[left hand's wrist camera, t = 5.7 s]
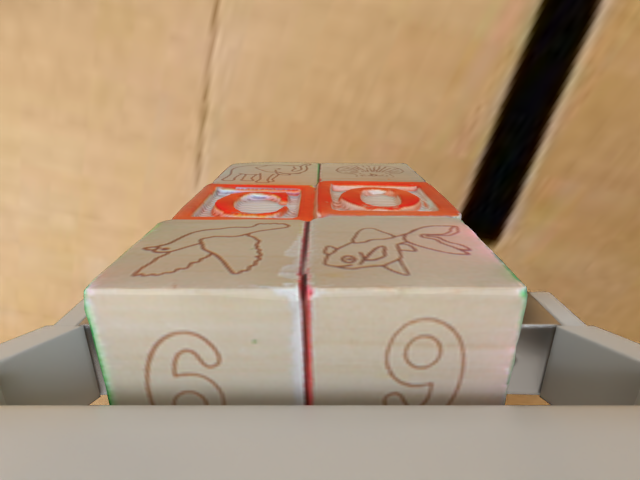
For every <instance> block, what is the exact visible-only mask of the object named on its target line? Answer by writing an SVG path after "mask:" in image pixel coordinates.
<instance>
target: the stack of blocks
mask: <svg viewBox="0 0 640 480" xmlns="http://www.w3.org/2000/svg"><path fill="white" fill-rule="evenodd" d="M527 296H528V294H527V287H526V286H525V285H524V284H523V283H522V282H521V281H520V280H519V279H518V278H517V277H516V276H515V275H514V274H513V272H512V271H511V270H510V269H509V268H508V267H507V266H506V265H505V264H504V263H503V261H502V260H501V259H500V258H499V257H498V256H497V255H496V254H495V253H494V252H493V251H492V250H491V249H490V248H488V247H487V246H486V245H485V244H484V243H483V242H482V241H481V240H480V239H479V238H478V236H477V235H476V234H475V233H474V232H473V231H472V230H471V229H470V228H469V227H468V226H467V225H465V224H464V223H463V221H462V220H461V213H460V212H459V211H458V210H457V209H456V208H455V207H454V206H453V205H452V204H451V203H450V202H449V201H448V200H447V199H446V198H445V197H443V196H442V195H441V194H440V193H439V192H438V191H437V190H436V189H435V188H433V187H432V186H431V185H430V184H428V183H426V182H425V180H424V179H423V178H421V177H420V176H419V175H418V174H417V173H416V172H415V171H413V170H412V169H411V168H410V167H409V166H408V165H407V164H404V163H395V164H366V163H324V164H318V163H297V162H265V163H240V164H233V165H231V166H229V167H228V168H227V169H226V170H225V171H224V172H223V173H222V174H220V176H219V177H218V178H217V179H216V180H215V181H214V182H213V183H212V184H209V185H207V186H205V187H204V188H203V189H202V190H201V191H200V192H199V193H198V194H197V195H196V196H195V197H194V198H193V199H192V200H190V201H189V202H188V203H187V204H186V205H185V206H184V207H183V208H182V209H181V210H180V211H179V212H178V213H177V214H176V215H175V216H174V217H173V219H172V220H167V221H164V222H161V223H158V224H157V225H156V226H155V227H154V228H153V229H152V230H151V231H149V232H148V233H147V234H146V235H145V236H144V237H143V238H142V239H140V240H139V241H138V242H137V243H136V244H134V245H133V246H132V247H131V248H129V249H128V250H127V251H126V252H125V253H124V254H123V255H122V256H120V257H119V258H118V259H117V260H116V261H115V262H114V263H112V264H111V265H110V266H109V267H108V268H106V269H105V270H104V271H103V272H102V273H101V274H99V275H98V276H97V277H96V278H95V279H93V281H92V282H91V283H90V284H89V285H88V286H87V288H86V289H85V290H84V310H85V313H86V316H87V319H88V322H89V325H90V329H91V333H92V337H93V341H94V344H95V348H96V352H97V356H98V360H99V364H100V367H101V371H102V375H103V379H104V382H105V386H106V391H107V395H108V400H109V404H110V405H505V401H506V395H507V389H508V385H509V381H510V377H511V373H512V370H513V366H514V363H515V353H516V346H517V343H518V339H519V336H520V331H521V326H522V322H523V317H524V313H525V308H526V304H527Z"/></svg>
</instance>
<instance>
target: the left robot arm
mask: <svg viewBox="0 0 640 480" xmlns="http://www.w3.org/2000/svg"><path fill="white" fill-rule="evenodd" d="M527 294H528V296H527V304H526V308H525V313H524V317H523V322H522V326H521V331H520V336H519V339H518V343H517V346H516V353H515V363H514V366H513V370H512V373H511V377H510V381H509V385H508V389H507V394H529V395H540V397H541V398H542V399H544V400H545V401H546V402H548V403H549V404H551V405H90V404H91V403H92V402H94V401H95V400H96V399H98V398H99V397H100V395H107V391H106V386H105V382H104V379H103V375H102V371H101V367H100V364H99V360H98V356H97V352H96V348H95V344H94V341H93V337H92V333H91V329H90V325H89V322H88V319H87V316H86V313H85V310H84V299H83V300H82V301H80V302H79V303H78V304H77V305H76V306H75V307H74V308H73V309H71V310H70V311H69V312H68V313H67V314H66V315H65V316H64V317H62V318H61V319H60V320H59V321H58V322H57V323H56V324H55V325H53V326H44V327H42V328H39V329H37V330H34V331H32V332H29V333H27V334H24V335H22V336H19V337H16V338H14V339H11V340H9V341H6V342H4V343H1V344H0V480H640V344H639V343H636V342H634V341H631V340H629V339H626V338H623V337H621V336H618V335H616V334H613V333H611V332H608V331H606V330H603V329H601V328H598V327H596V326H587V325H585V324H584V323H583V322H582V321H581V320H580V319H579V318H578V317H577V316H575V315H574V314H573V313H572V312H571V311H570V310H569V309H568V308H566V307H565V306H564V305H563V304H562V303H561V302H560V301H559V300H557V299H556V298H555V297H554V296H553V295H552V294H551V293H549V292H545V291H543V292H527Z"/></svg>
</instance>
